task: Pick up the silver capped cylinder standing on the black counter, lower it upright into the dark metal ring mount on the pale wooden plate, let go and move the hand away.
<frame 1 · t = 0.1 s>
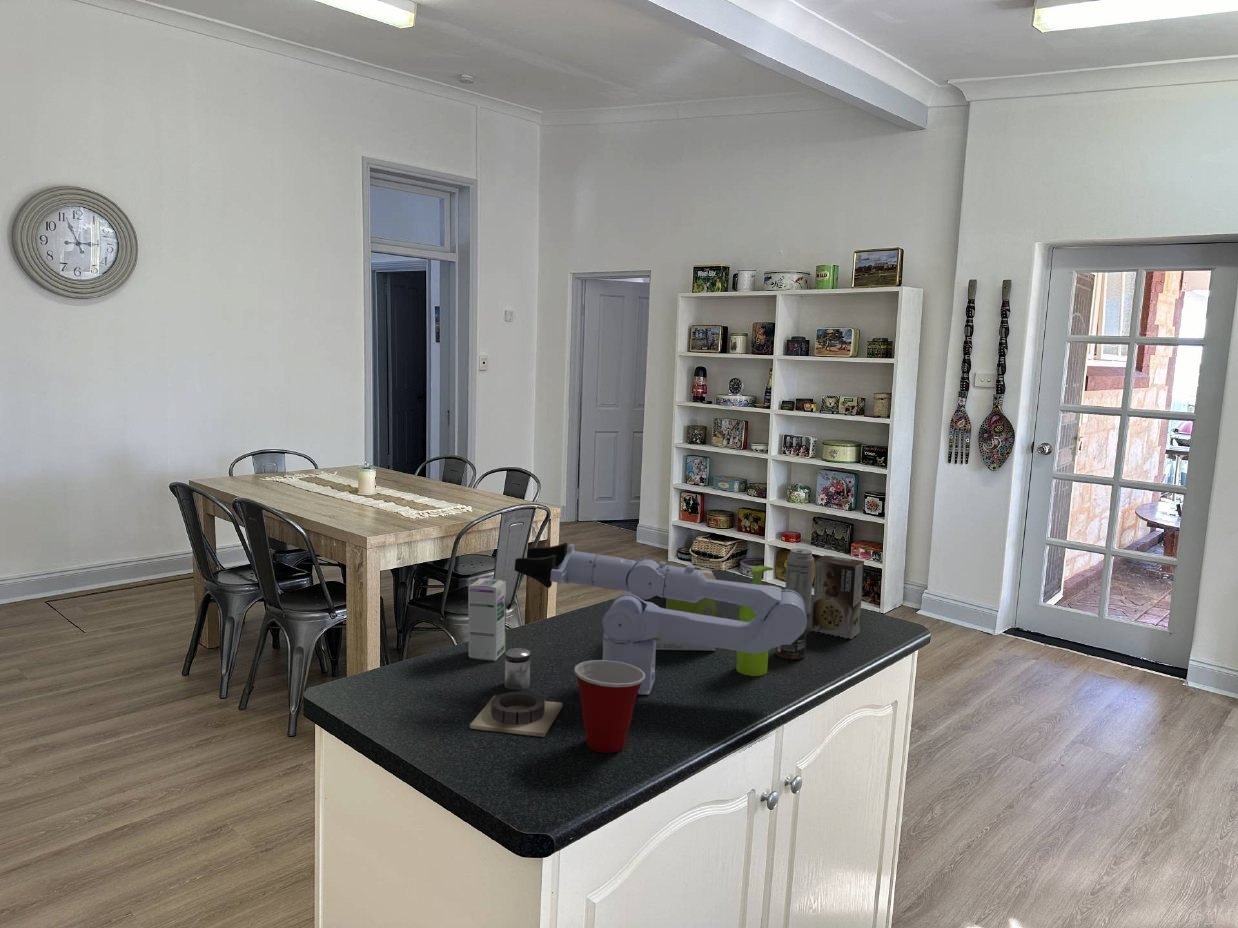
hand: (521, 559, 159), 22 cm above the counter, tool horizontal, fingers open, 7 cm apart
syrup box: (486, 655, 171), on the counter
silver capped cylinder: (517, 684, 156), on the counter
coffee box: (835, 632, 192), on the counter
tea box: (676, 644, 181), on the counter
plastic cup: (607, 745, 134), on the counter
supplement bottle: (789, 656, 177), on the counter
soap dispenser: (753, 670, 168), on the counter
mount plate: (517, 716, 143), on the counter
energy drink can: (796, 614, 205), on the counter
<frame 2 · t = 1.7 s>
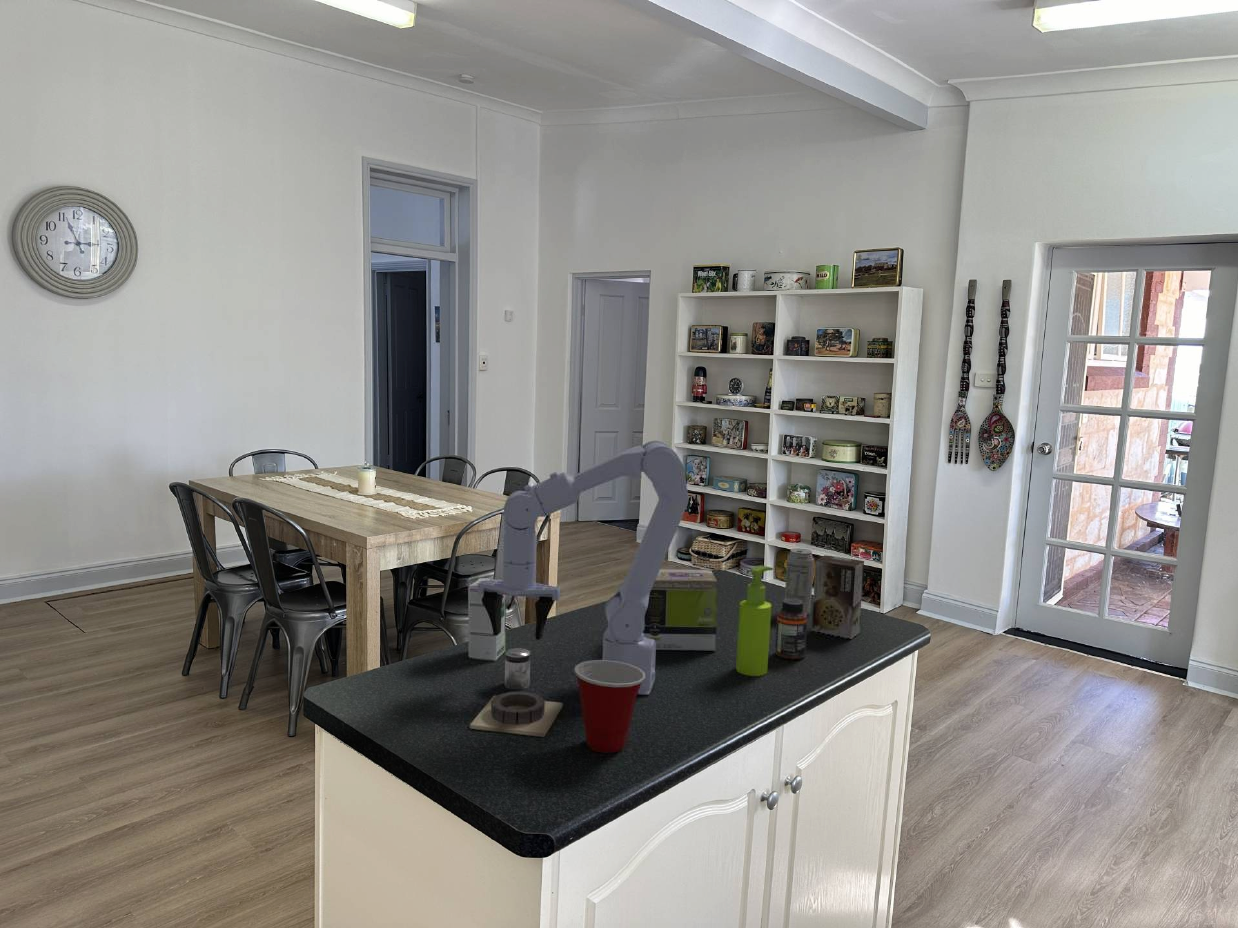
hand: (518, 635, 155), 9 cm above the counter, tool pointing down, fingers open, 7 cm apart
nothing on the counter moved.
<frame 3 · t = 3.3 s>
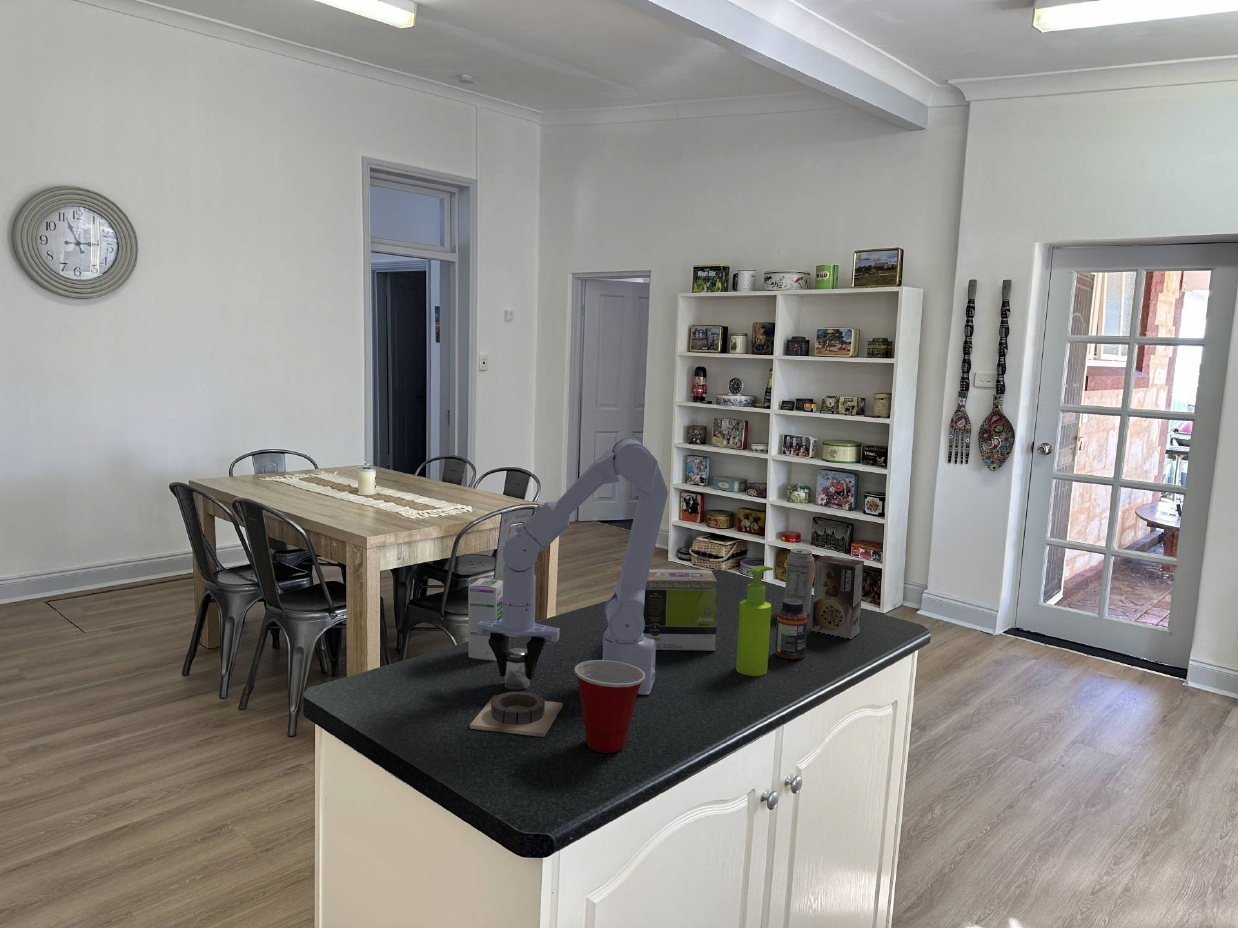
hand: (517, 675, 156), 2 cm above the counter, tool pointing down, fingers closed on silver capped cylinder, 4 cm apart
silver capped cylinder: (517, 684, 156), on the counter, touching gripper
everything else where it was.
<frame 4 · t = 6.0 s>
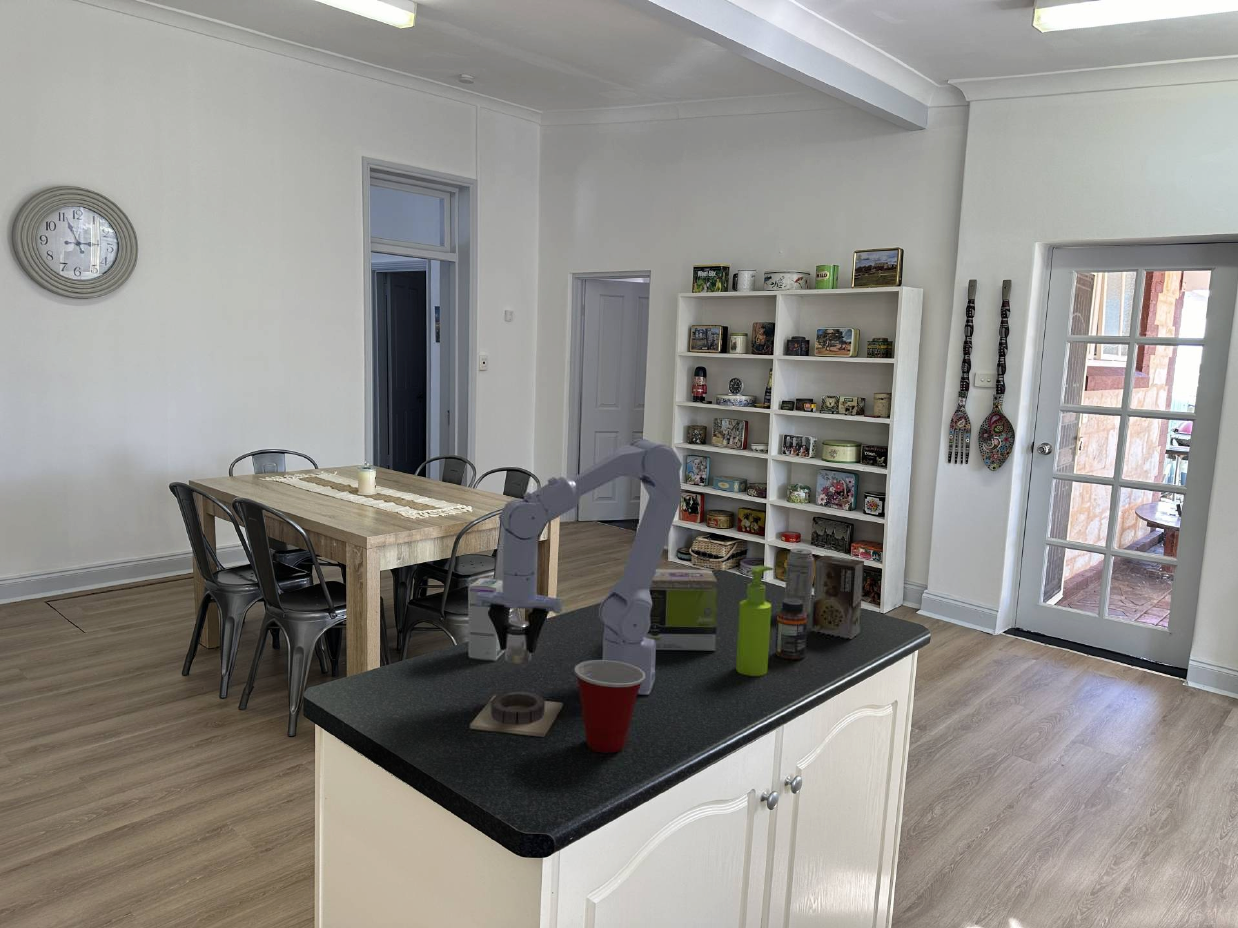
hand: (518, 649, 149), 9 cm above the counter, tool pointing down, fingers closed on silver capped cylinder, 4 cm apart
silver capped cylinder: (517, 658, 150), point 7 cm above the counter, touching gripper
everything else where it was.
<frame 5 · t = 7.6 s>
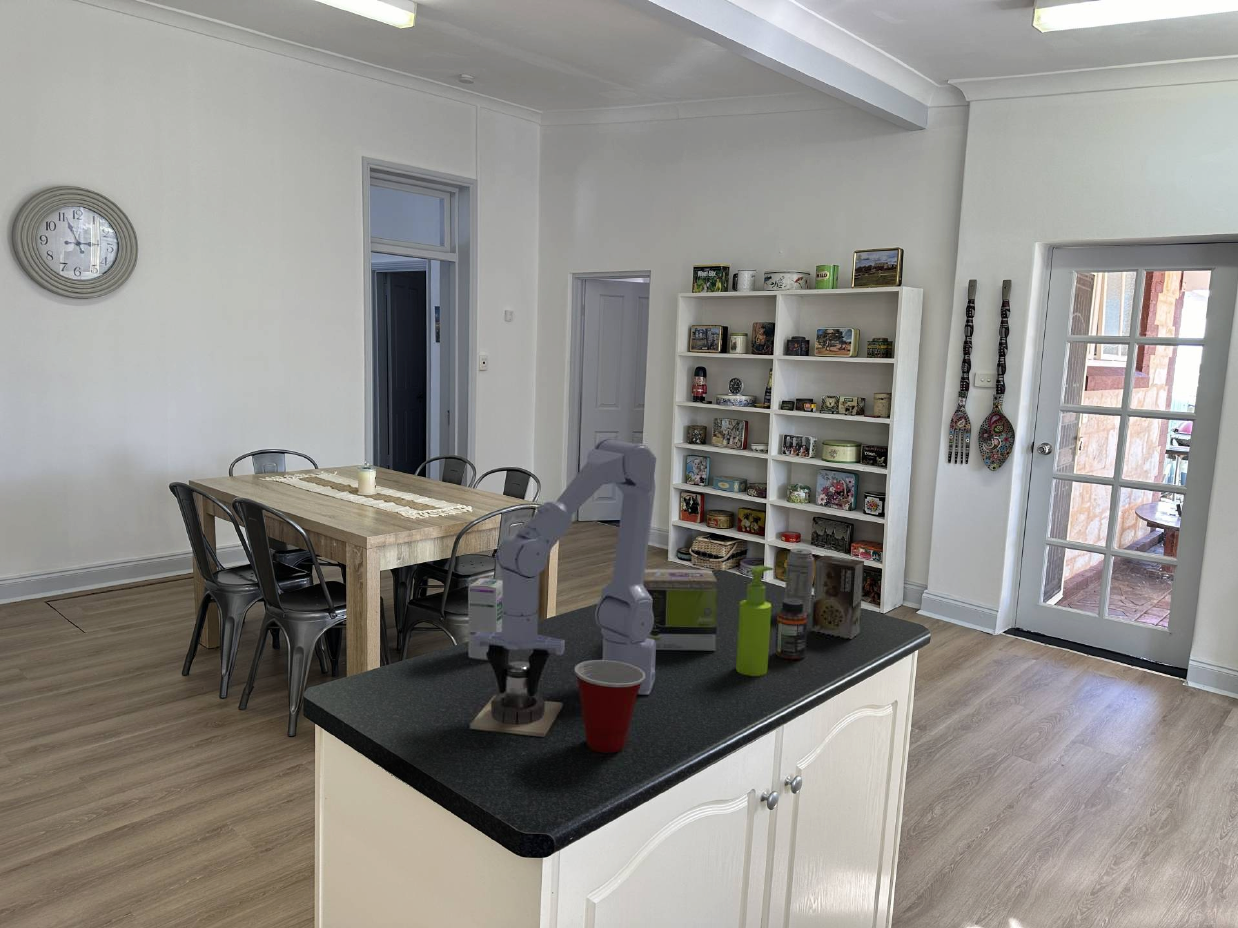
hand: (518, 692, 142), 4 cm above the counter, tool pointing down, fingers closed on silver capped cylinder, 4 cm apart
silver capped cylinder: (518, 701, 143), point 3 cm above the counter, touching gripper
everything else where it was.
when the fingers open (4 cm above the counter, at t = 8.9 s): silver capped cylinder drops 1 cm, resting on mount plate.
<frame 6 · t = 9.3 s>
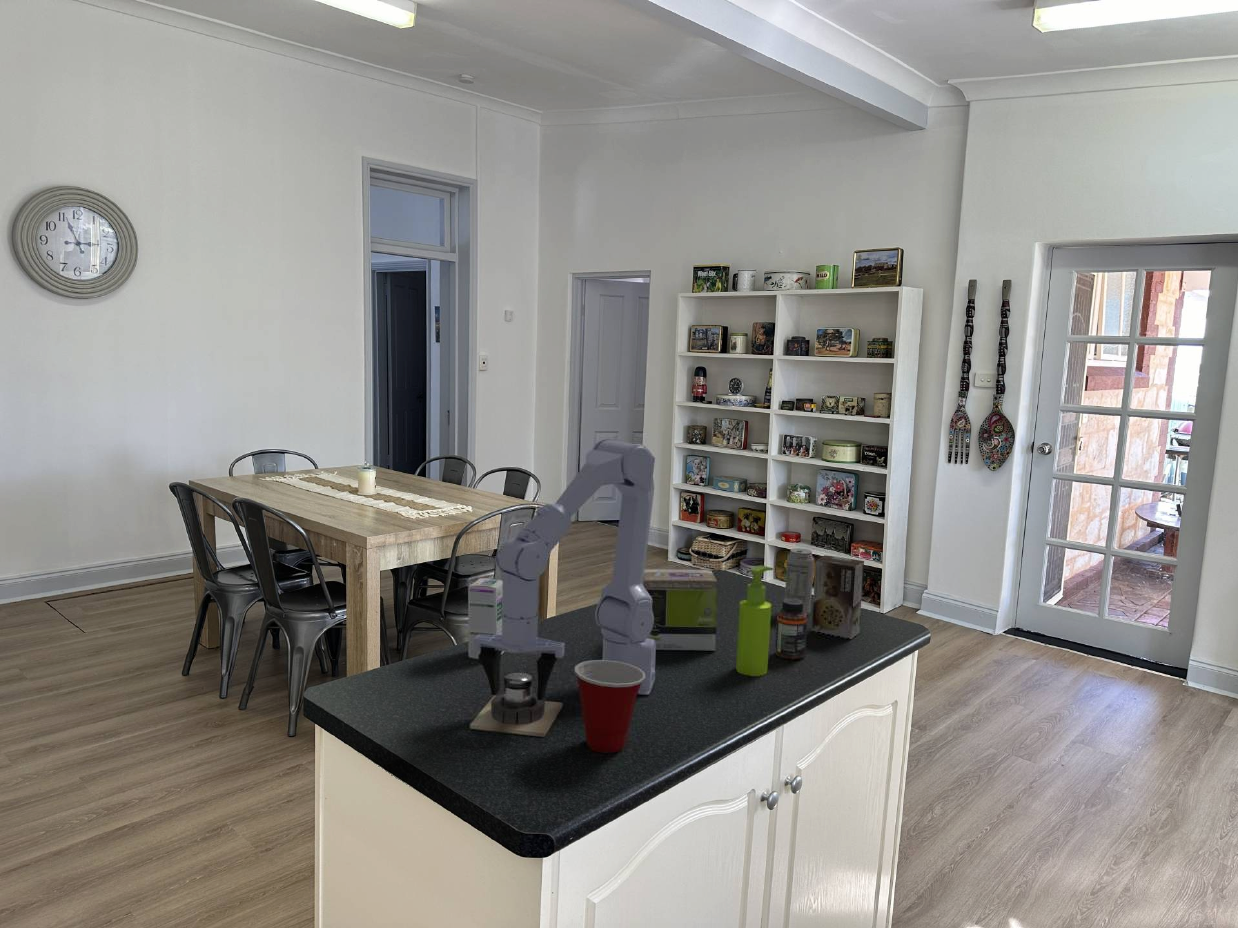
hand: (518, 695, 143), 4 cm above the counter, tool pointing down, fingers open, 7 cm apart
silver capped cylinder: (517, 713, 143), point 1 cm above the counter, touching mount plate
everything else where it was.
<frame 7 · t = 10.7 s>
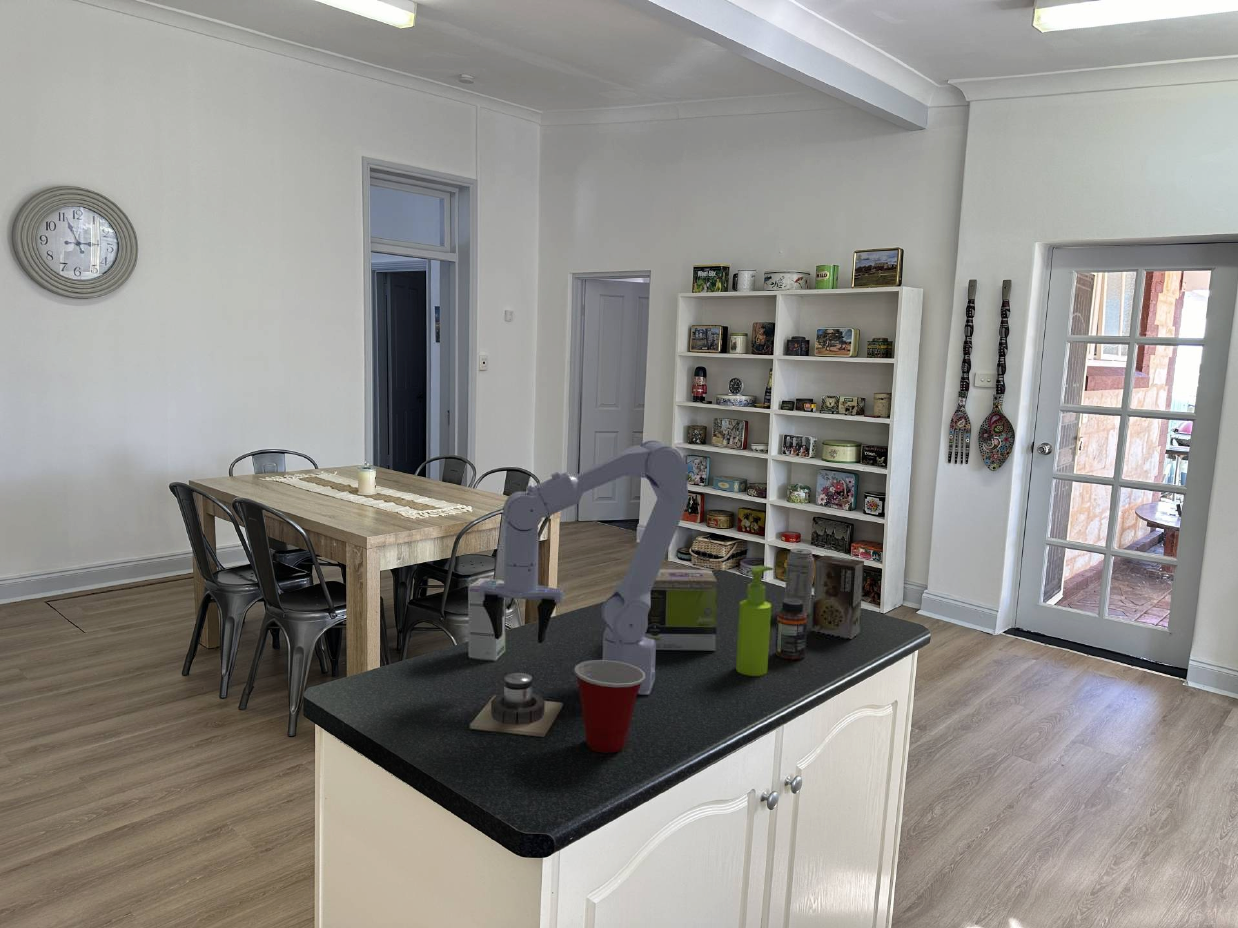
hand: (519, 639, 152), 9 cm above the counter, tool pointing down, fingers open, 7 cm apart
nothing on the counter moved.
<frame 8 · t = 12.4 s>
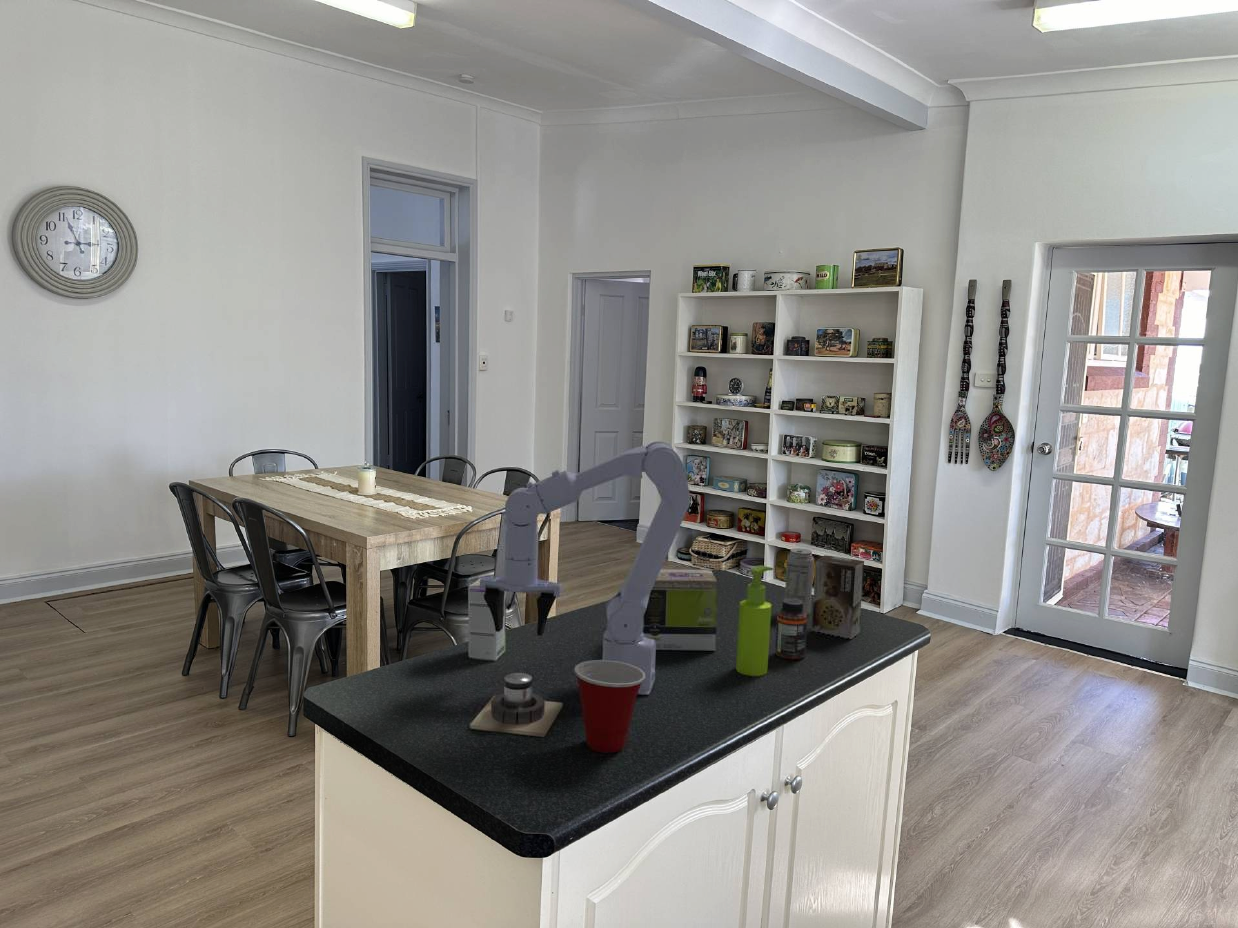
hand: (519, 631, 156), 9 cm above the counter, tool pointing down, fingers open, 7 cm apart
nothing on the counter moved.
at the end: silver capped cylinder 0.1 cm off-centre on the mount plate, point 0.6 cm above the mount plate's base; silver capped cylinder tilted 0°; the gripper is holding nothing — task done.
